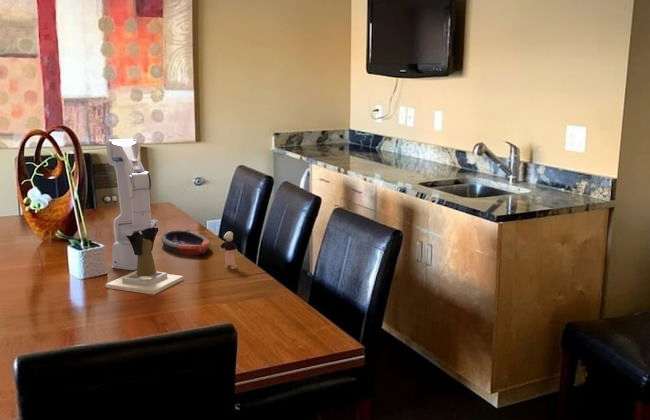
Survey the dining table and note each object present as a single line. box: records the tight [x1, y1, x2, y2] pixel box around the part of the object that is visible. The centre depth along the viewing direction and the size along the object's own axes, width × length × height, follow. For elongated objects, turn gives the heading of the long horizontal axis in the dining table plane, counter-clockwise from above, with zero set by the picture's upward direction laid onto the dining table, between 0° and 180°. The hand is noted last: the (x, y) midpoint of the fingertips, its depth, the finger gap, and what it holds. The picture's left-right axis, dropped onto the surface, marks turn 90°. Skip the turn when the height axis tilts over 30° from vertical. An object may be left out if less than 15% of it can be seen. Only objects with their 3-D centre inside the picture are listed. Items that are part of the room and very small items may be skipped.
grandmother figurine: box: [219, 231, 239, 270], centre depth 233 cm, size 8×4×13 cm, turn 71°
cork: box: [136, 239, 157, 276], centre depth 215 cm, size 6×6×11 cm
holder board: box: [105, 270, 184, 295], centre depth 216 cm, size 18×16×3 cm
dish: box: [160, 229, 211, 256], centre depth 258 cm, size 16×31×5 cm, turn 32°
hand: (143, 252), depth 215 cm, fingers closed on cork, 5 cm apart
